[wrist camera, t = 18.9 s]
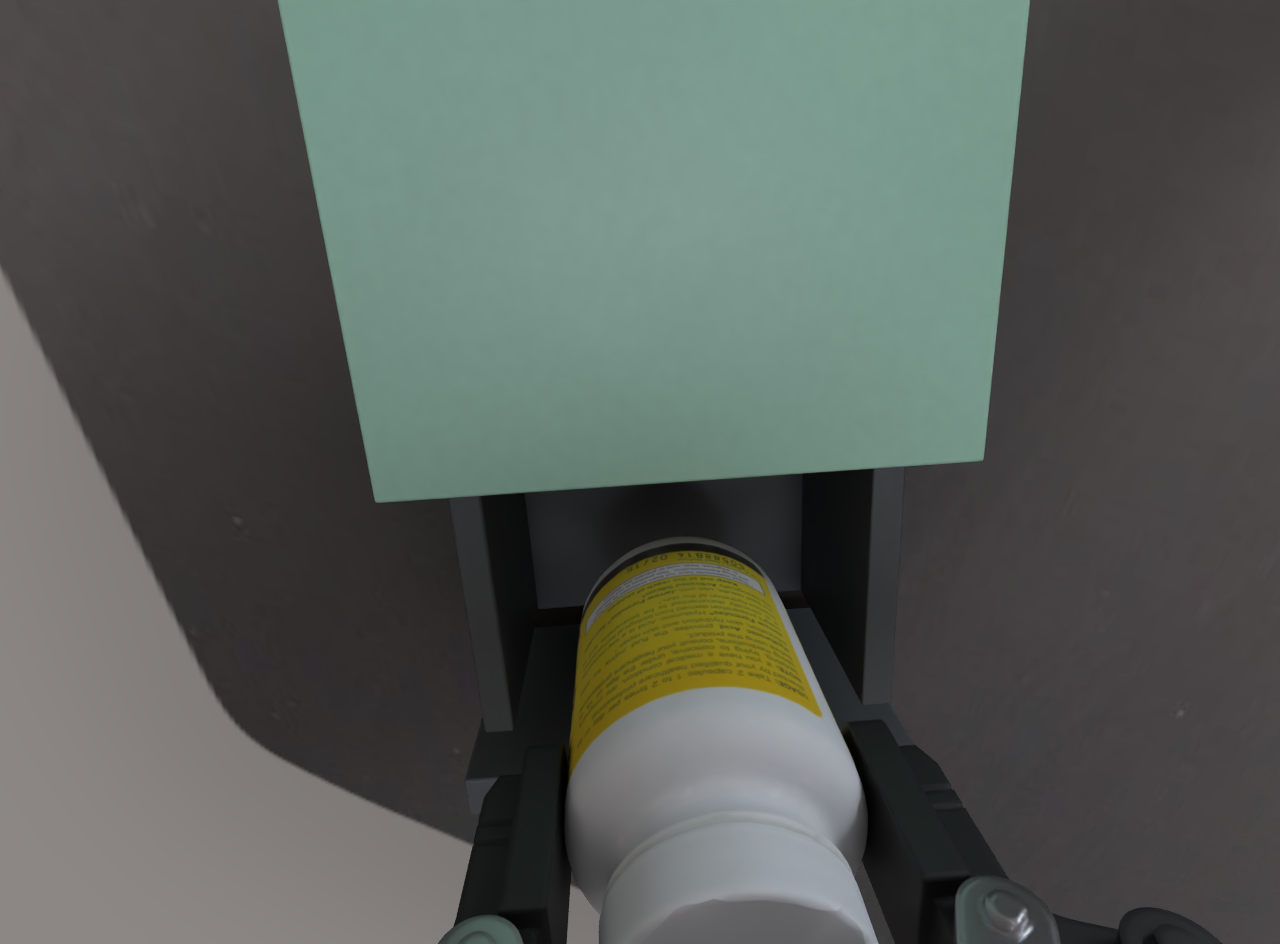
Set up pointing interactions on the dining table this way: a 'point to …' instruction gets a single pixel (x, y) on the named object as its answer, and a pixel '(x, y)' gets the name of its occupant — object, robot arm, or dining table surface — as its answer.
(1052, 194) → the dining table surface
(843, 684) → the grey pull-out drawer
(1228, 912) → the dining table surface
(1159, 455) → the dining table surface
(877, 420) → the green drawer cabinet
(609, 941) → the supplement bottle
